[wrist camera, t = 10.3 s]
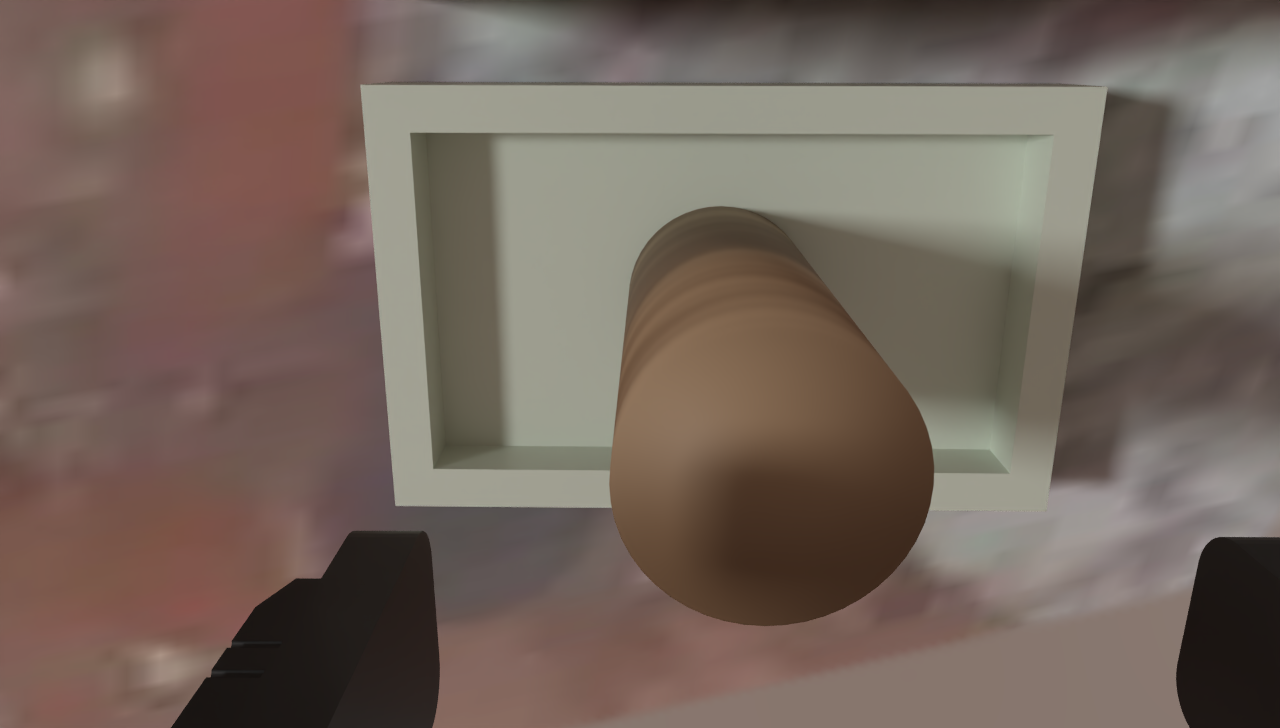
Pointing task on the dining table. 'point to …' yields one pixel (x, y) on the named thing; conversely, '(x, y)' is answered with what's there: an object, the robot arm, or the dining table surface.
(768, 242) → the walnut pepper mill
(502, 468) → the sage tray
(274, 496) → the dining table surface
